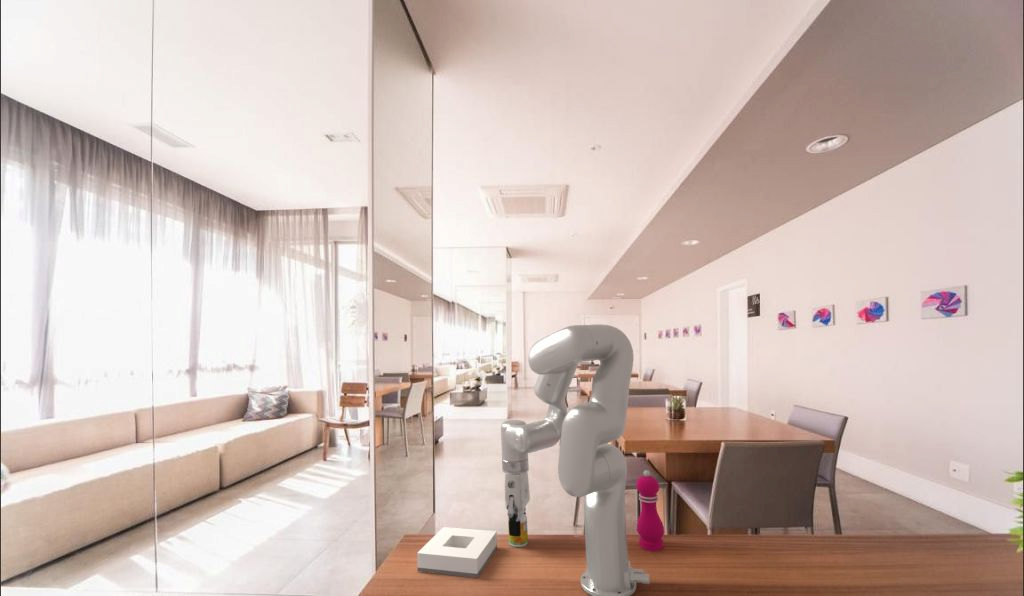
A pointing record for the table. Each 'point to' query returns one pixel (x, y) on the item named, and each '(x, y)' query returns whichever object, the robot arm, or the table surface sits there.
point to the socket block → (458, 552)
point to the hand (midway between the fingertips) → (517, 530)
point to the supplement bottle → (523, 538)
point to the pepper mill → (649, 514)
